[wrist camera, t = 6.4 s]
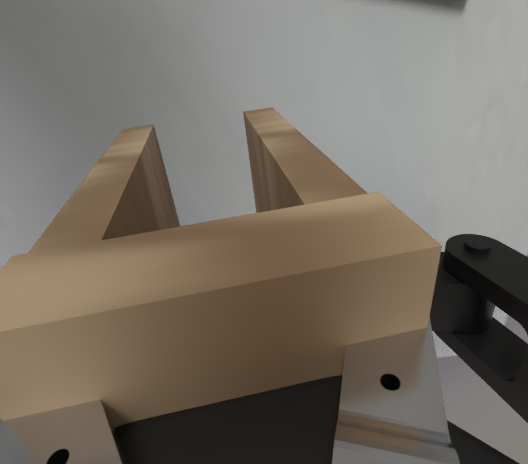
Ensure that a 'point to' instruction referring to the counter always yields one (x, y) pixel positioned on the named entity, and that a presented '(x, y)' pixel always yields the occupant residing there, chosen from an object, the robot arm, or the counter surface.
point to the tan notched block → (205, 284)
